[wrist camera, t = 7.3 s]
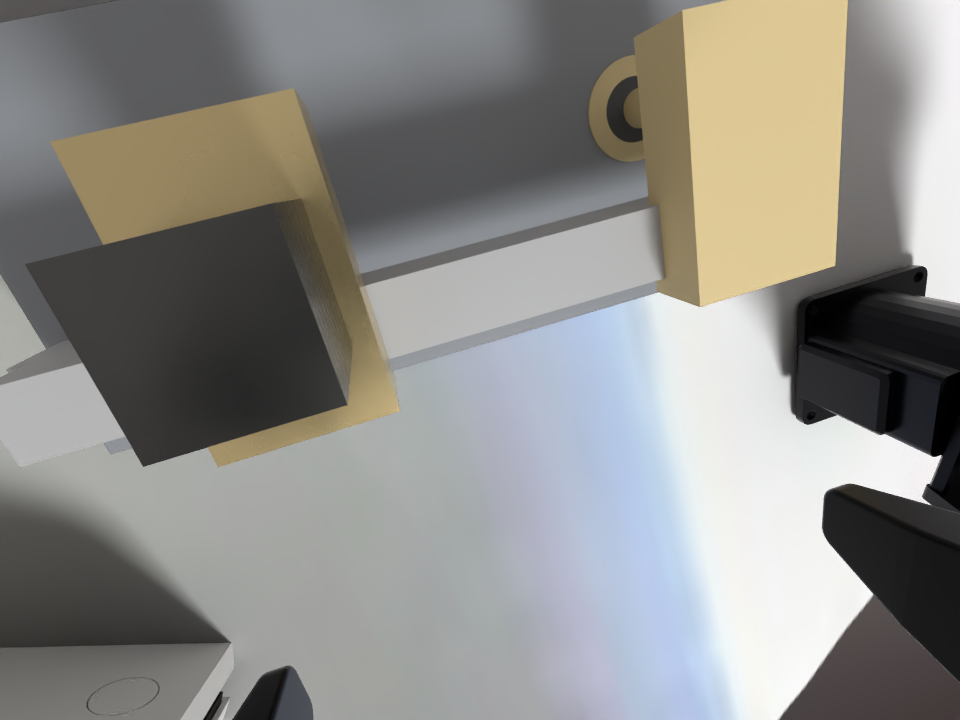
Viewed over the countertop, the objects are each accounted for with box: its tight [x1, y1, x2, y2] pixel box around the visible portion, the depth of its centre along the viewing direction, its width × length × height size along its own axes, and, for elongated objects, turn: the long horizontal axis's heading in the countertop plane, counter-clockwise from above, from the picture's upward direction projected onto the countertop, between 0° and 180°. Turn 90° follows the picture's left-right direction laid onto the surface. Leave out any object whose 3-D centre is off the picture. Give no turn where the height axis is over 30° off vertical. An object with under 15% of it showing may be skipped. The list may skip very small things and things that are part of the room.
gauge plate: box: [0, 0, 848, 467], centre depth 14 cm, size 24×12×8 cm, turn 103°
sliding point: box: [25, 88, 400, 467], centre depth 11 cm, size 4×6×9 cm, turn 13°
